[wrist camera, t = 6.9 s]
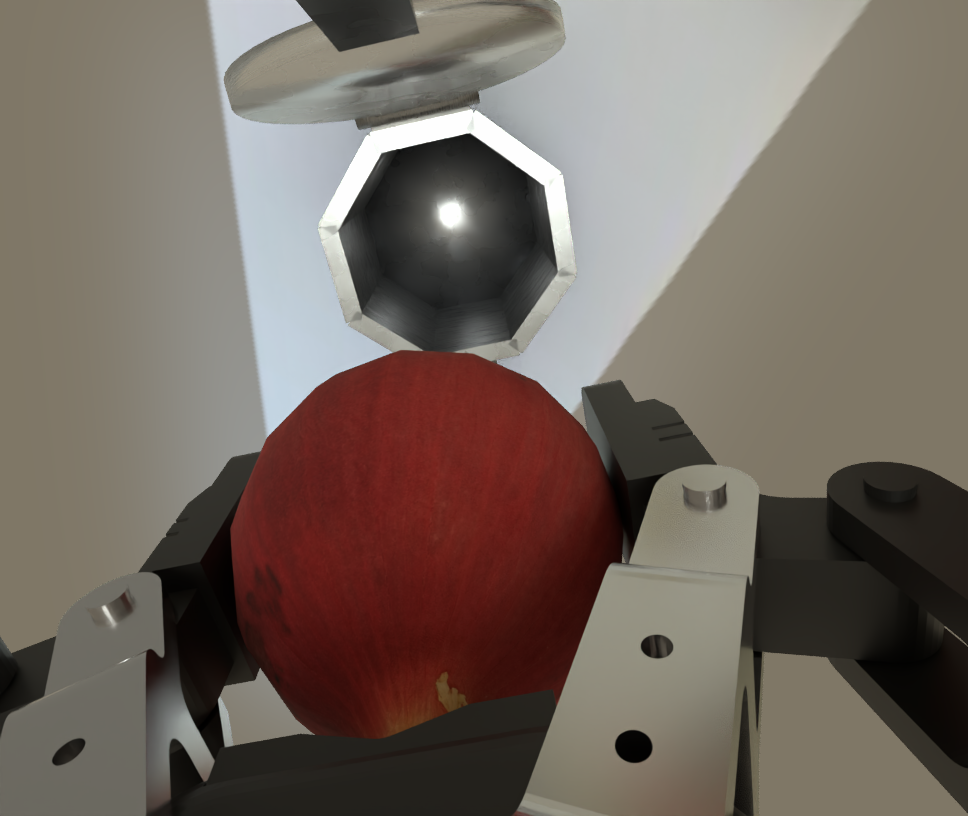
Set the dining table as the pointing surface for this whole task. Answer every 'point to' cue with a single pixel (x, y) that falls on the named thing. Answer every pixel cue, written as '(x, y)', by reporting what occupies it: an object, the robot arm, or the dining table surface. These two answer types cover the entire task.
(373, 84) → the lid
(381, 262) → the pot
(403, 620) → the onion
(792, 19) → the dining table surface
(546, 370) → the dining table surface
